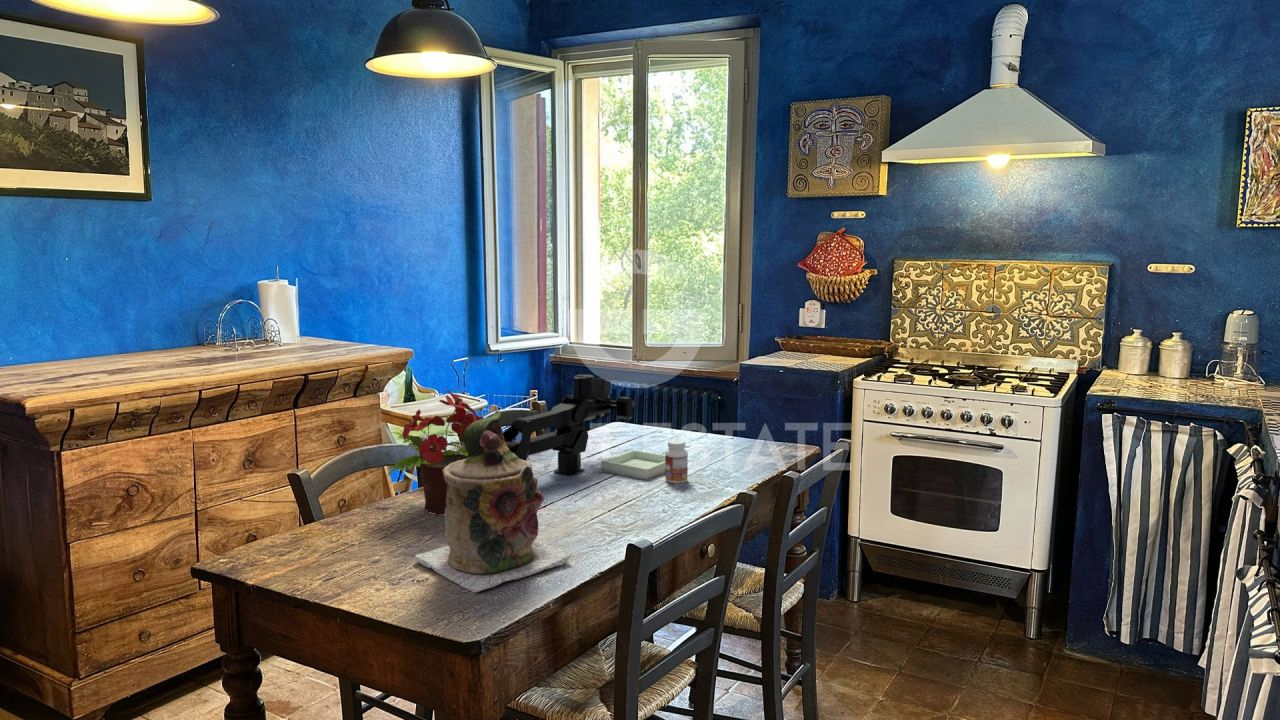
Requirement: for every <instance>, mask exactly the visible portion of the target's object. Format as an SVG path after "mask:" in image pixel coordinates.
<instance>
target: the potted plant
mask: <svg viewBox="0 0 1280 720" xmlns="http://www.w3.org/2000/svg"><path fill="white" fill-rule="evenodd" d="M444 390H445V391H446V392H447V393H448V394H449V395H450V396H451V397H450V396H449V395H448V394H447V395H445V400H443V399H440V400H438V402H439V403H442V404H444V405H446V406H452V407H453V408H454V411H453V413H452V414H451V415H449V416H447V417H446V419H443V418H442V417H440V416H439V415H435V416H433V418H430V417H428V416H427V417H425V418H423V417H421V416H420V415H421V411H422V410H421V409H418V410H416V412H415V414H413V415H412V416H411V419H412V420H410V422H409V423H405V424H404V426H403V430H402V431H400V432H401V433H400V432H395V431H390V433H391V434H394V435H395V434H396V435H398V436H397V437H396V438H397V439H403V442H402V444H404V443H406V444H407V443H408V447H413V446H416V448H415V453H419V455H411V456H408V457H404V458H402V459H401V460H399V461H397V462H396V463H394V464H393V465H391V466H390V467H389V468H390V469H391V470H390V471H389V472H388V473H387V475H386V477H388V476H389V475H391V474H392V473H394V472H396V471H397V470H400V471H401V472H402V473H403V472H404V471H405V469H408V470H411V471H412V470H413V468H414V467H418V468H420V473H421V481H422V486H423V494H424V495H423V496H424V500H425V501H424V502H425V504H424V510H425V511H426V510H427V511H428V512H427V511H426V512H427V513H429V512H431V513H430V514H432V513H435V514H434V515H438V514H445V508H446V497H447V486H448V484H447V482H446V481H445V480H444V476H443V469H444V468H445V467H446V466H448V465H449V464H451V463H453V462H456V461H458V460H463V459H466V458H467V456H468V453H467V451H466V448H465V446H464V441H463V442H460V440H461V436H464V433H465V430H466V429H467V427H468V426H469V425H470V424H472V423H473V422H475V421H478V420H481V419H485V418H484V416H478V415H477V412H476V411H475V410H474V409H473V408H472V407H471V406H470V405H469V404H468V403H466V401H464V399H463V398H461V397H460V395H458V394H455V393H452V392H451V391H450V390H448V389H446V388H444ZM467 411H470V412H471V413H469V412H467ZM418 421H419V422H418ZM446 423H448V424H447V426H446V429H445V436H444V435H439V436H438V434H436V433H432V434H430V429H429V428H430V425H434V426H435V427H436V426H437V427H444V426H445V425H446ZM450 424H451V431H452V432H454V433H455V434H457V435H459V438H458V441H451V442H448V439H447V437H448V435H447V434H448V427H449V426H450ZM426 428H427V433H425V432H424V431H423V430H424V429H426ZM410 432H422V433H423V434H424V435H425V436H427V438H424V439H423V440H422V438H420V437H418V436H414V435H412V434H411V435H410ZM459 445H460V446H459ZM448 446H452V447H454V446H455V447H456V450H453V449H452V450H451V449H449V450H448V449H447V447H448ZM392 468H393V469H392Z"/></svg>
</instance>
